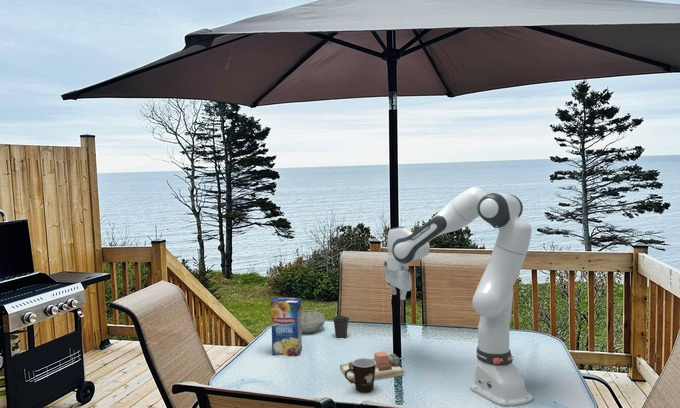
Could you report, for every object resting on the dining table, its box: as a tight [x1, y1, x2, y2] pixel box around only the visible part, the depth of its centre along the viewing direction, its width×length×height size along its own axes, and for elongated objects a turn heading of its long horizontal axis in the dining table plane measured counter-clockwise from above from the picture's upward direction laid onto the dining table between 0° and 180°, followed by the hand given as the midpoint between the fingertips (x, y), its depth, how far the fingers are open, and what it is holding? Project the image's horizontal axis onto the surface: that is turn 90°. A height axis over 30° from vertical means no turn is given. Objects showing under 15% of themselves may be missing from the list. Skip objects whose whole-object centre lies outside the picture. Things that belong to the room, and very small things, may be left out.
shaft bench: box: [339, 353, 405, 384], centre depth 194 cm, size 14×22×5 cm, turn 107°
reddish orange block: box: [373, 351, 390, 368], centre depth 195 cm, size 4×4×5 cm
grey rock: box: [301, 309, 326, 334], centre depth 248 cm, size 18×18×10 cm
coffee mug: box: [344, 357, 376, 394], centre depth 179 cm, size 12×9×10 cm
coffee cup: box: [332, 315, 350, 339], centre depth 237 cm, size 8×8×10 cm
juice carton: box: [270, 297, 303, 357], centre depth 217 cm, size 12×8×24 cm, turn 82°
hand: (398, 297), depth 206 cm, fingers open, 8 cm apart
